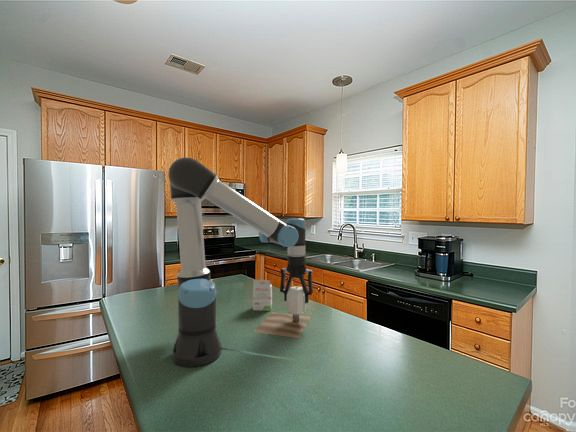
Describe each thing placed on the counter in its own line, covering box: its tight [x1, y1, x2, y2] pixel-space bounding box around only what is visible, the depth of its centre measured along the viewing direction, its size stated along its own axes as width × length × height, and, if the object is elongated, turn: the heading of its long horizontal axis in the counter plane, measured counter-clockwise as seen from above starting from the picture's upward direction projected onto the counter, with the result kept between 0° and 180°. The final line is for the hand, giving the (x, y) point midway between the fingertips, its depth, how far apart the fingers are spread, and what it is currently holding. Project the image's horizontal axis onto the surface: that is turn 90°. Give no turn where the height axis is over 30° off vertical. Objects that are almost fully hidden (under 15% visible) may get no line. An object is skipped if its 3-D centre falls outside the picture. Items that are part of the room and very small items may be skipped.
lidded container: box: [287, 285, 304, 315], centre depth 119 cm, size 6×6×10 cm
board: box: [253, 311, 312, 339], centre depth 116 cm, size 22×18×6 cm
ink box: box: [252, 279, 273, 312], centre depth 133 cm, size 9×5×15 cm, turn 84°
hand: (296, 309), depth 119 cm, fingers closed on lidded container, 6 cm apart
